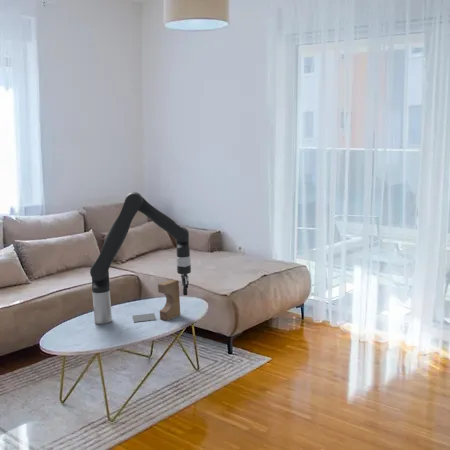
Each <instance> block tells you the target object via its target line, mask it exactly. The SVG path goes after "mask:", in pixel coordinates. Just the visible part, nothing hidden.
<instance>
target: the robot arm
mask: <svg viewBox="0 0 450 450" xmlns="http://www.w3.org/2000/svg"><path fill="white" fill-rule="evenodd" d="M123 202H124V203H123V205H122V207H121V209H120V212H119V214H118V216H117V218H116V219H115V221H114V222H113V224H112V225H111V227H110V229H109V231H108V233H107V234H106V237H105V239H104V243H103V245H102V247H101V250H100V253H99V255H98V257H97V259H96V261H95V262H93V263H92V264H91V266H90V269H89V274H90V277H91V284H92V285H91V293H92V303H93V305H92V306H93V316H94V324H95V325H96V324H98V325H104V324H105V325H106V324H108V323H111V322H112V321H113V316H112V304H111V303H112V302H111V292H110V291H111V288H110V273H109V272H110V271H109V269H110V266H111V264H112V262H113V260H114V258H115V256H116V255H117V253H118V252H119V250H120V249H121V247H122V246H123V243H124V241H125V239H126V238H127V235H128V232H129V230H130V227H131V224H132V222H133V219H134V218H135V216H136V214H137V213H138V212H139V213H142V214H143V215H145V216H146V217H147V218H148V219H150V221H152V223H154V224H156V225H157V227H159V228H161V229H162V230H164V231H165V232H167V233H168V234H169V235H170V236H172V237H173V238H174V239H175V240H176V272H177V274H179V275H180V276H179V277H180V283H181V287H182V295H183V296H188V289H189V276H188V274H191V273H192V266H191V265H192V263H191V255H190V253H191V252H190V244H189V243H190V239H189V237H190V235H189V230H188V229H187V228H186V227H183V226H180V225H178V224H177V222H176V221H174V219H172V218H170V217H169V216H168V215H166V214H165V213H164V212H161V210H159V209H157V208H156V207H154V206H153V205H152V204H151V203H149V202H148V201H147V200H146V199H145V198H144V197H143V196H142V194H141V193H139V192H137V191H132V192H129V193H128V194H127V195H126V197H125V199H124V201H123Z"/></svg>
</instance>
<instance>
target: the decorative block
mask: <svg viewBox="0 0 450 450" xmlns="http://www.w3.org/2000/svg"><path fill="white" fill-rule="evenodd" d="M179 282H180V281H179V280H178V279H169V280H165V281H163V282H159V283H158V284H157V288H158V289H157V290H158V291H157V292H158V293H160V294H164V296H165V298H166V301H165V305H164V306H163V307H162V309H160V310H159V320H163V321H170V320H172V319H175V318H177V317H180V316H181V303H180V302H181V300H180V299H181V298H180V286H179Z"/></svg>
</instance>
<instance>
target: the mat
mask: <svg viewBox="0 0 450 450" xmlns="http://www.w3.org/2000/svg"><path fill="white" fill-rule="evenodd" d="M132 319H133V323H134V324H135V323H142V322H143V323H144V322H151V321H157V317H156V315H155V313H154V312H153V313H144V314H135V315H132Z"/></svg>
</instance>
